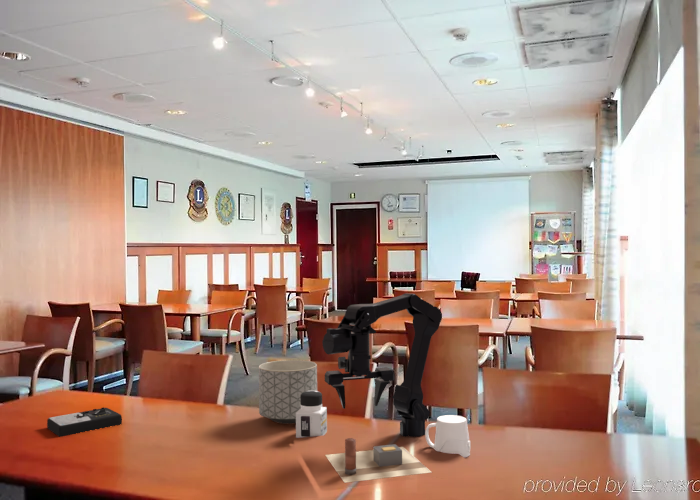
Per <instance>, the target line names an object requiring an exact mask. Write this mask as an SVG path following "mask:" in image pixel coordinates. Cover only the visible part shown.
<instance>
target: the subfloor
mask: <svg viewBox="0 0 700 500" xmlns="http://www.w3.org/2000/svg"><path fill="white" fill-rule="evenodd" d="M398 447H399V448H400V449H401V450H402V464H400V465H391V466H382V467H379V466H378V464H377V463H376V462H375V461H374V455H373V449H369V450H360V451H356V474H354V475H347V474H345V452H341V453H333V454H332V453H331V454H325V455H324V456H325V458H326V459H327V460H328V461H329V463H330V464H331V466H332V467H333V468H334V470H335V472H336V473H337V474H338V476H339V477H340V479H341V480H342V482H343V483H345V484H346V483H355V482H360V481H361V482H363V481H370V480H371V481H372V480H381V479H389V478H395V477H405V476H413V475H414V476H415V475H421V474H428V473H429V474H431V473H432V471H431V470H430V469H429V468H428V467H427V466H426V465H424V464H423V463H422V462H421V461H420V460H419V459H418V458H417V457H415V456H414V455H413V454H412V453H411V452H410V451H409V450H407V449H406V448H405V447H404V446H398Z"/></svg>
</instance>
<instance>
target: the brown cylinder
mask: <svg viewBox="0 0 700 500" xmlns="http://www.w3.org/2000/svg"><path fill="white" fill-rule="evenodd" d="M356 452H357V440H356V438H353V437H351V438H345V439H344V453H345V474H347V475H354V474H356Z"/></svg>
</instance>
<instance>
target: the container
mask: <svg viewBox="0 0 700 500" xmlns="http://www.w3.org/2000/svg"><path fill="white" fill-rule="evenodd" d="M300 401H301V409H299V410H298V411H297V412H296V423H295V438H296V439H299V438H310V437H311V438H312V437H321V436H325V435H326V434H327V432H328V412H327V411H328V409H327V406H323V394H322V392H320V391H318V390H317V391H305V392H303V393H301V395H300Z"/></svg>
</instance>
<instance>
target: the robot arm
mask: <svg viewBox="0 0 700 500" xmlns="http://www.w3.org/2000/svg"><path fill="white" fill-rule="evenodd" d="M405 310H406V311H407V314H409V315H410V316H412V325H413V329H414V330H413V331H414V337H413V341H412V345H411V349H410V352H409V353H410V354H409V357H408V362H407V366H406V367H407V368H406V371H405V375H404V380H403V381H402V383H401V384H399V385H398V384H396V385H394V392H393V395H392V397H391V398H392V399H393V401H392V402H393V403H392V405H393V406H394V408H395V410H396V413H397V415H398V416H401V421H400V422H399V433H400V434H399V435H401V437H406V438H407V437H410V438H417V437H419V438H420V437H422V436H425V431H426V420H428V419H429V418H430V414H431V410H429V409H428V408H427V406H425V405H424V393H423V388H422V381H423V375H424V372H425V368H426V361H427V358H428V353H429V349H430V344H431V341H432V340H431V339H432V337H433V336H434V334H435V333H436V332H437V331H438V330H439V328H440V325H441V323H442V319H443V314H442V311H441V309H440V308H439V307H437V306H434V305H433V304H431V303H429V302H427V301H425V300H424V299H422V298H421V297H419V295H417V294H415V293H407V292H406V293H403V294H401V295H398V296H394V297H391V298H387V299H383V300H381V301H378V302H375V303H359V304H350V305H349V306H347V308H346V310H345V314H344V316H343V317H342V318H341V321H340V323H339V324H338V326H337V328H331V327H330V328H326V333H325V334H324V335H323V338H322V349H323V351H324V352H325V354H327V355H333V354H334V355H336V354H342V353H348V354H347V358H346V356H338V358H337V362H338V363H337V366H338V367H337V368H338V369H339V370H328V371H327V370H326V372H325V373H324V382H325V383H326V384H327V385H329V386H331V387H332V388H334V389H335V391H336V392H337V395H338V397H339V401H340V404H341V407H342V409H344V410H346V392H345V391H346V389H345V384H343V382H344V381H354V380H366V379H368V380H369V379H373V380H374V398H373V399H374V401H373V402H374V406H375V407H378V405H379V402H380V400H381V397H382V395H383V393H384V391H385V389H386V388H387V385H390V384H391V381H392V382H393V381H395V371H394V370H393V369H392V368H389V367H387V366H385V367H376V368H375V369H374V371H373V370H372V371H371V369H370V368H371V363H370V362H371V359H372V358H371V354H370V335H371V334H376V333H377V331H376V329H375V328H373V327H372V324H375V323H376V322H377V321H378V319H381V318H382V317H384V316H385V317H386V316H389V315H391V314H395V313H398V312H401V311H405ZM343 369H344V372H343V373H342V372H341V371H340V370H343Z"/></svg>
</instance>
